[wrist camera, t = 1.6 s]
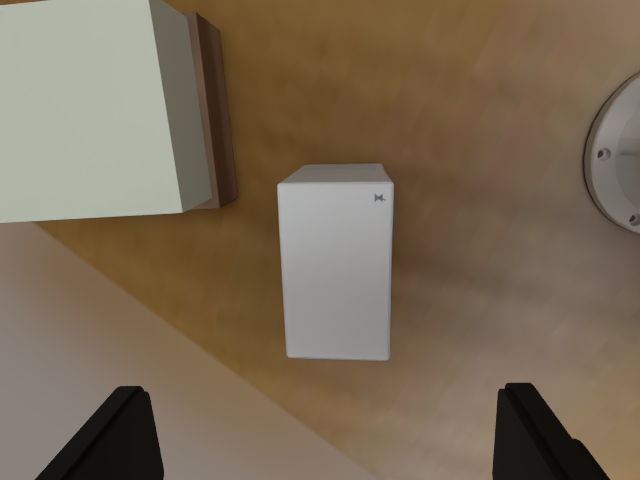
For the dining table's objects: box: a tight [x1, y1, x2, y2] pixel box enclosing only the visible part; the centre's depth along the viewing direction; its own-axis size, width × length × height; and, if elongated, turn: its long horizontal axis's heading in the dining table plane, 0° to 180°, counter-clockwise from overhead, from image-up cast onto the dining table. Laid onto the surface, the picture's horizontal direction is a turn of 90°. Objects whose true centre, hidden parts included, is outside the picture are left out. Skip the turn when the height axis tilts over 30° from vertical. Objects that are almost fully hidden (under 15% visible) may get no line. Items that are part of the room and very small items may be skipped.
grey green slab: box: [0, 0, 212, 223], centre depth 24 cm, size 11×11×5 cm
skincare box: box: [277, 163, 394, 361], centre depth 27 cm, size 10×6×10 cm, turn 1°
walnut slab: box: [181, 12, 238, 210], centre depth 29 cm, size 12×12×5 cm
